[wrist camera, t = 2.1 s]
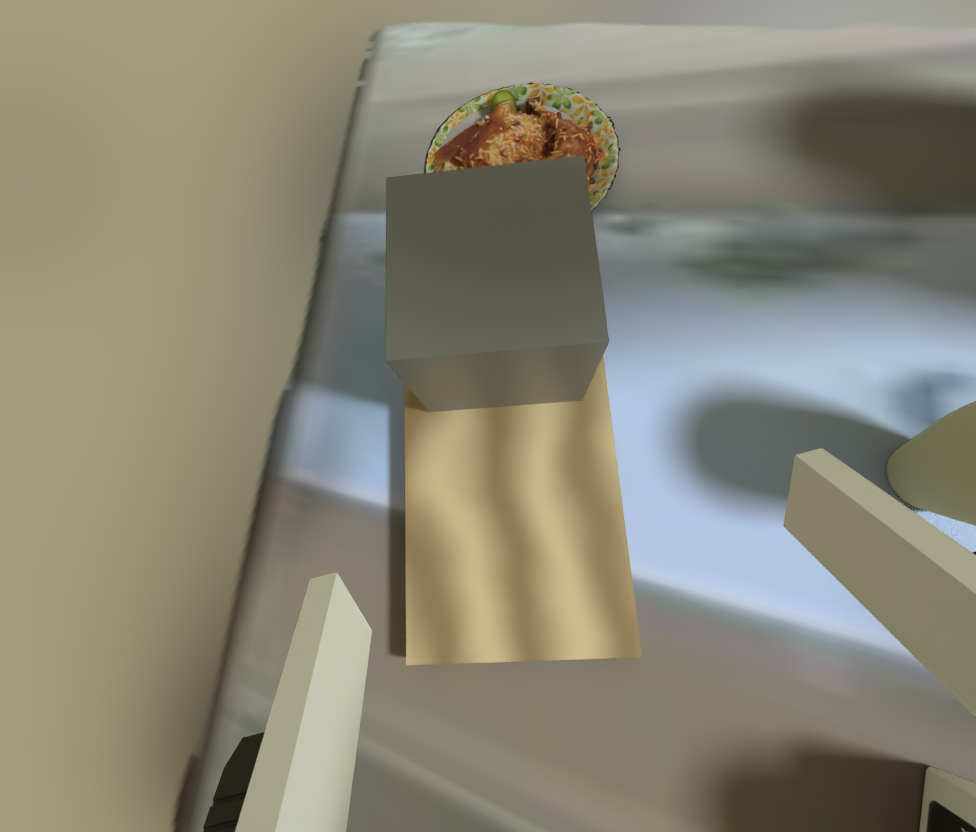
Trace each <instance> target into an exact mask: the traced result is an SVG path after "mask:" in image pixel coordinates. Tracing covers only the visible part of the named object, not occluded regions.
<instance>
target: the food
mask: <svg viewBox="0 0 976 832" xmlns="http://www.w3.org/2000/svg"><path fill="white" fill-rule="evenodd" d="M516 101H524V102H526V107H525V108H524V107H519V108H518V109H517V106H516ZM543 104H545V105H548V106H550V107H554V108H556V109H558V110H559V111H561V112H564V113H566V114H567V115H569V116H570V117H571V118H572V119H573V121H571V120H569V119H565V120H563V119H562V118H561V113H560V112H558V113H557V114H554V113H553V112H549V111H547V110H546V109H545V108H543V107H542V105H543ZM490 105H491V111H492V112H491V113H489V114H488V115H486V116H484V117H483V118H482V119H481V120H479V121H477V122H476V123H475V124H474V125H472V126H471V127H469V128H468V129H466V130H464V131H463V132H462V133H461V134H459V135H458V136H457V137H455V138H454V139H453V141H450V142H448V143H447V144H445V145H444V146H443V147H441V148H440V149H439V147H440V145H441V143H442V142H443V140H444V139H446V138H447V137H446V135H447V134H448V132H449V131H450V129H452V128H453V127H454V126H456V125H457V124H458V123H459V122H461V121H462V120H463V119H464V118H465V117H467V116H468V115H469V114H471V113H474V112H476V111H478V110H480V109H482V108H486V107H488V106H490ZM618 142H619V141H618V136H617V135H616V133H615V129H614V123H613V122H612V120H611V117H607V116H606V114H605V113H603V112H602V110H601V109H600V108H599V106H597V104H594V103H593V102H591V101H590V100H589V99H588V98H587V97H585V96H582V95H580V94H579V92H575V91H574V90H572V89H569V88H566V87H565V88H560V87H558V86H555V85H551V84H544V83H543V84H536V83H528V84H524V85H520V86H514V85H513V86H510V87H503V88H501V89H498V90H493V91H490V92H489V93H486V94H483V95H480V96H479V97H476V98H474V99H473V100H471V101H470V102H468V103H466V104H464V105H463V106H461V107H460V108H458V109H457V110H456V111H455V112H454V113H453V114H451V115H450V116H449V117H448V118H447V120H446V121H445V122H444V123H443V124H442V125H441V126H440V127H439V129H438V131H437V133H436V134H435V137H434V138H433V140H432V143H431V146H430V148H429V150H428V153H427V160H426V165H425V172H426V173H433V172H434V171H436V172H441V171H450V170H459V169H468V168H477V167H485V166H494V165H503V164H512V163H521V162H529V161H538V160H547V159H556V158H565V157H573V156H582V155H584V159H585V166H586V174H587V181H588V189H589V196H590V204H591V210H592V209H595V208H596V207H597V205H598V204H599V203H600V201H601V199H603V198H605V197H606V195H607V192H608V190H609V189H611V188H609V187H612V184H613V180H614V178H615V177H616V175H615V173H616V172H617V169H618V168H619V166H618V159H619V151H620V150H621V149H620V148H619V147H618V145H619V144H618Z"/></svg>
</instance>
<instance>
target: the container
mask: <svg viewBox="0 0 976 832" xmlns="http://www.w3.org/2000/svg"><path fill="white" fill-rule="evenodd" d="M919 832H976V784H975V783H973V782H970V781H968V780H965V779H963V778H960V777H957V776H955V775H952V774H950V773H947V772H944V771H942V770H939V769H937V768H933V767H929V768H927V770H926V775H925V784H924V793H923V802H922V811H921V820H920V829H919Z"/></svg>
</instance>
